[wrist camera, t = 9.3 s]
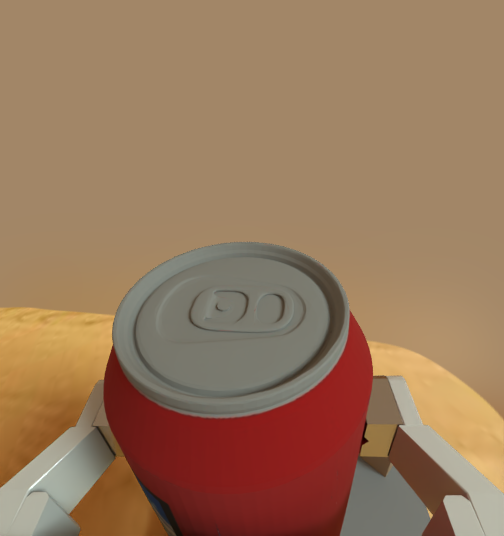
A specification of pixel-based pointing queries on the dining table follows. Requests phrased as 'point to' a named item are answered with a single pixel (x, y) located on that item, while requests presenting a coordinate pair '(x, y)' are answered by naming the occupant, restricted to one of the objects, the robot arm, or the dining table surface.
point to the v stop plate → (382, 502)
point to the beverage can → (240, 392)
